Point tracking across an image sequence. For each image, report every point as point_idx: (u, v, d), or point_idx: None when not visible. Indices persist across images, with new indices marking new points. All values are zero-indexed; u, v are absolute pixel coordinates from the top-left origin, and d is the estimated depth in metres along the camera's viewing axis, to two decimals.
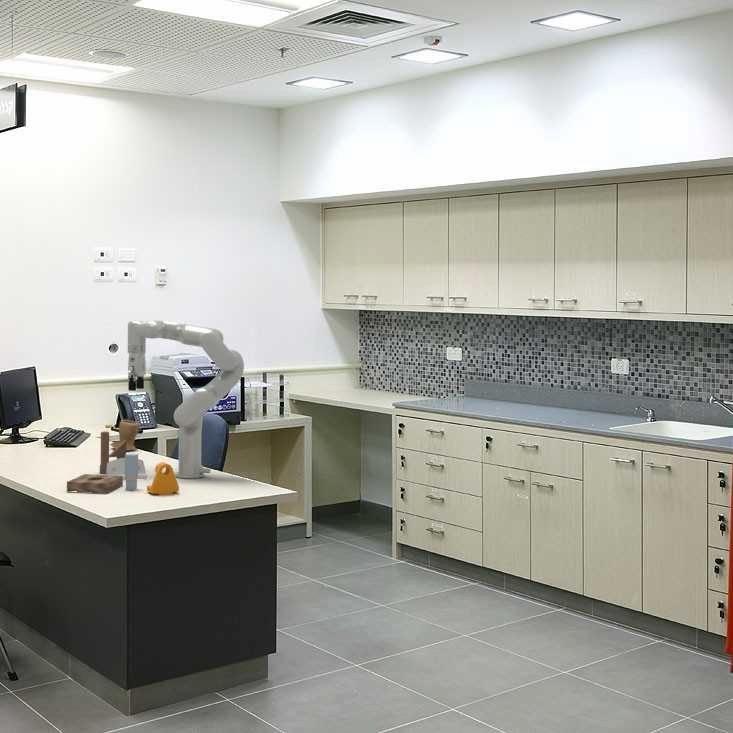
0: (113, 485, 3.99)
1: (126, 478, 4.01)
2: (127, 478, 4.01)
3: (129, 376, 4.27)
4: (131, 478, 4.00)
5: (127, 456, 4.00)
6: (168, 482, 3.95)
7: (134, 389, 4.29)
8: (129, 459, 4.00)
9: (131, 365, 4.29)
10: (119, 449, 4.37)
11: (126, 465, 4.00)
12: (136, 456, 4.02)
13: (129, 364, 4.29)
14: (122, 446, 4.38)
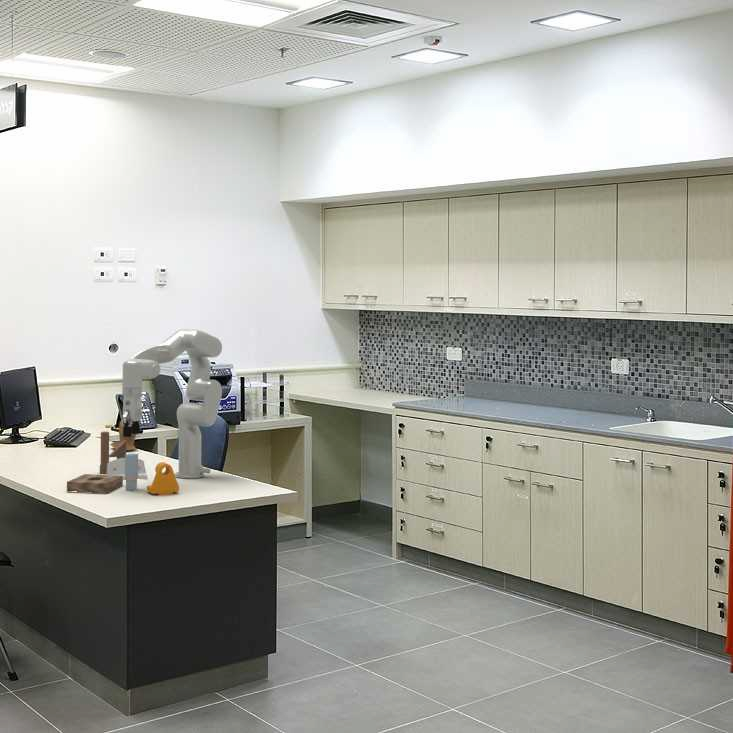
0: (113, 485, 3.99)
1: (126, 478, 4.01)
2: (127, 478, 4.01)
3: (124, 421, 3.93)
4: (131, 478, 4.00)
5: (127, 456, 4.00)
6: (168, 482, 3.95)
7: (129, 435, 3.96)
8: (129, 459, 4.00)
9: (126, 409, 3.96)
10: (119, 449, 4.37)
11: (126, 465, 4.00)
12: (136, 456, 4.02)
13: (124, 408, 3.96)
14: (122, 446, 4.38)
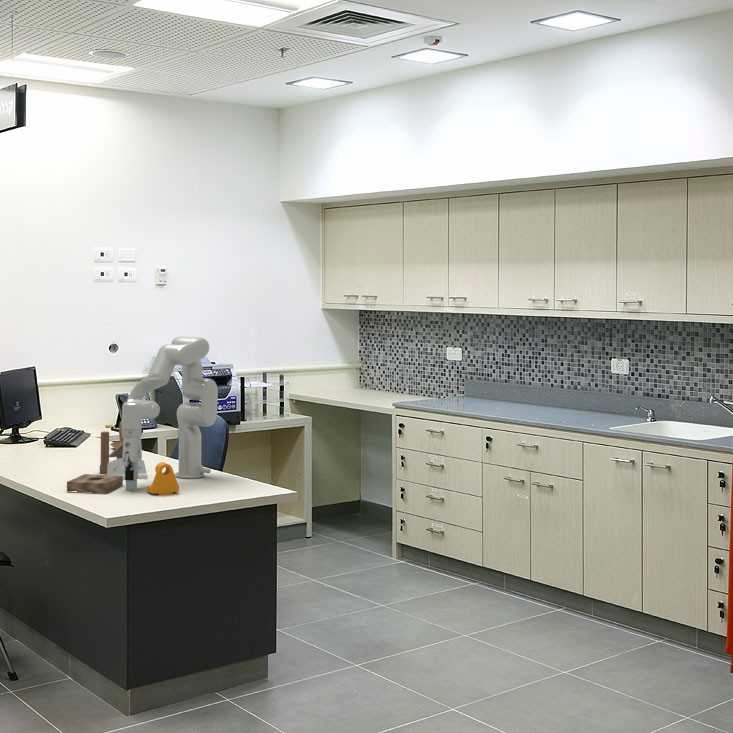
0: (113, 485, 3.99)
1: None
2: None
3: None
4: None
5: None
6: (168, 482, 3.95)
7: (131, 479, 4.00)
8: None
9: (126, 451, 3.97)
10: (119, 449, 4.37)
11: None
12: None
13: (124, 450, 3.97)
14: (122, 446, 4.38)
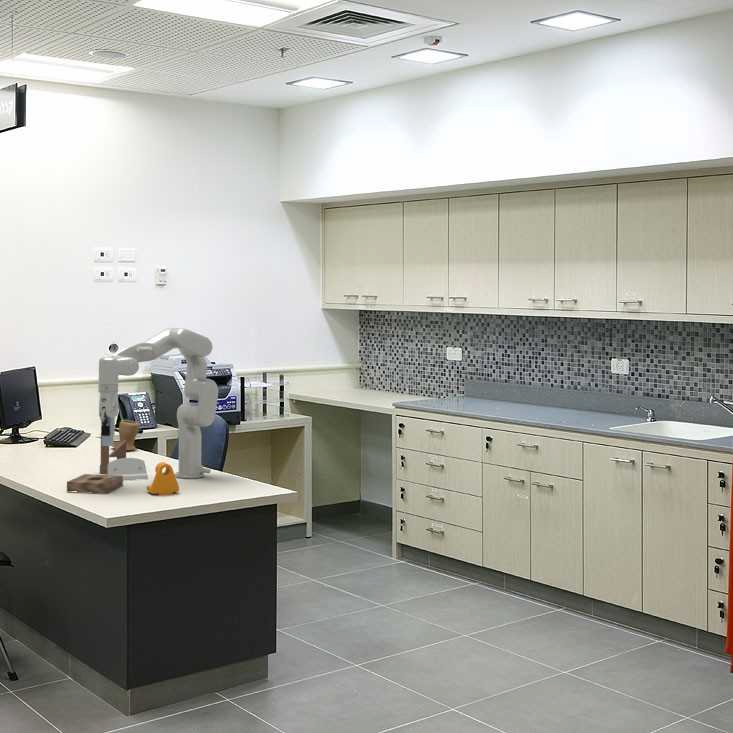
0: (113, 485, 3.99)
1: None
2: None
3: None
4: None
5: None
6: (168, 482, 3.95)
7: (107, 434, 3.98)
8: None
9: (102, 406, 3.95)
10: (119, 449, 4.37)
11: None
12: None
13: (100, 405, 3.96)
14: (122, 446, 4.38)
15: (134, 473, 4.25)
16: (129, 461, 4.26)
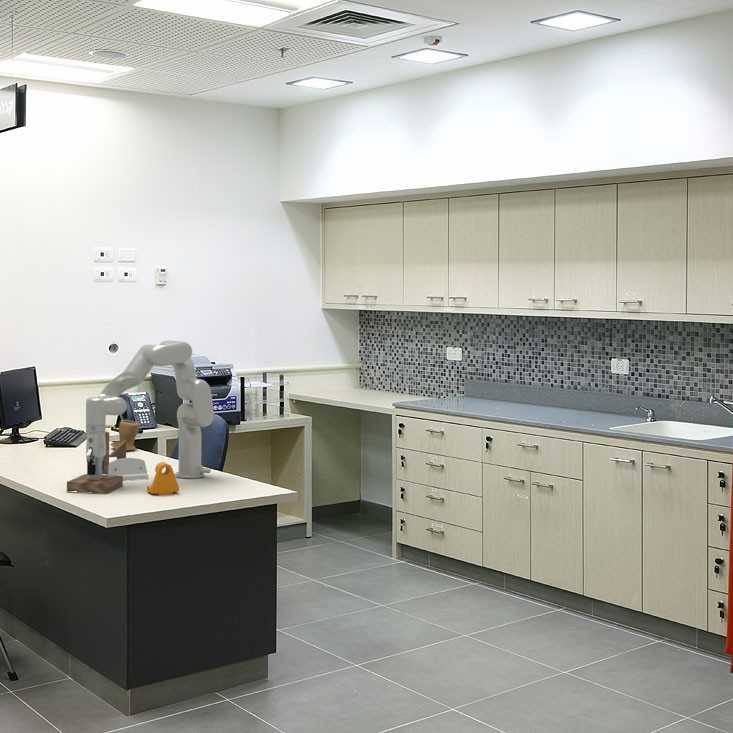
0: (113, 485, 3.99)
1: (90, 477, 4.00)
2: (91, 477, 4.00)
3: (88, 460, 3.94)
4: (95, 477, 4.00)
5: None
6: (168, 482, 3.95)
7: (93, 473, 3.97)
8: None
9: (89, 446, 3.96)
10: (119, 449, 4.37)
11: None
12: None
13: (87, 445, 3.97)
14: (122, 446, 4.38)
15: (134, 473, 4.25)
16: (130, 462, 4.25)
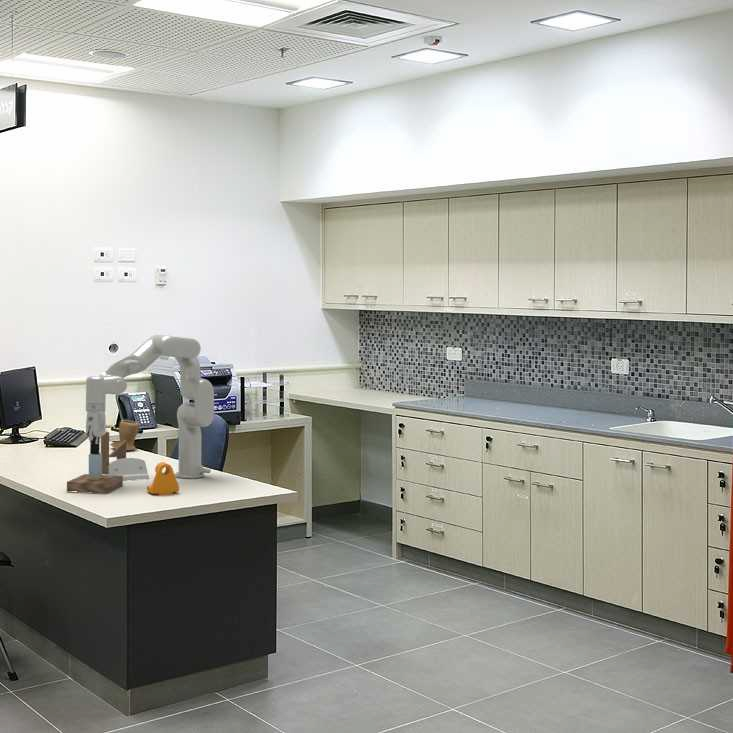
0: (113, 485, 3.99)
1: (90, 477, 4.00)
2: (91, 477, 4.00)
3: None
4: (95, 477, 4.00)
5: (91, 455, 4.00)
6: (168, 482, 3.95)
7: (96, 452, 4.00)
8: (92, 458, 4.00)
9: (89, 425, 3.96)
10: (119, 449, 4.37)
11: (90, 464, 4.00)
12: (100, 455, 4.01)
13: (87, 424, 3.96)
14: (122, 446, 4.38)
15: (135, 473, 4.25)
16: (130, 462, 4.25)
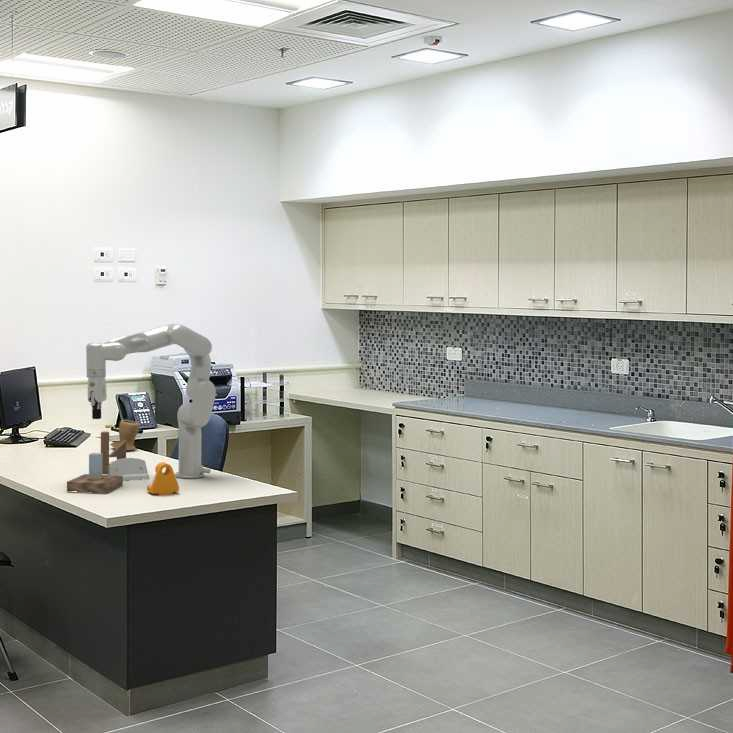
0: (113, 485, 3.99)
1: (90, 477, 4.00)
2: (91, 477, 4.00)
3: None
4: (95, 477, 4.00)
5: (91, 455, 4.00)
6: (168, 482, 3.95)
7: (98, 417, 4.10)
8: (93, 458, 4.00)
9: (91, 390, 4.06)
10: (119, 449, 4.37)
11: (90, 464, 4.00)
12: (100, 455, 4.01)
13: (89, 389, 4.06)
14: (122, 446, 4.38)
15: (135, 473, 4.25)
16: (130, 462, 4.25)
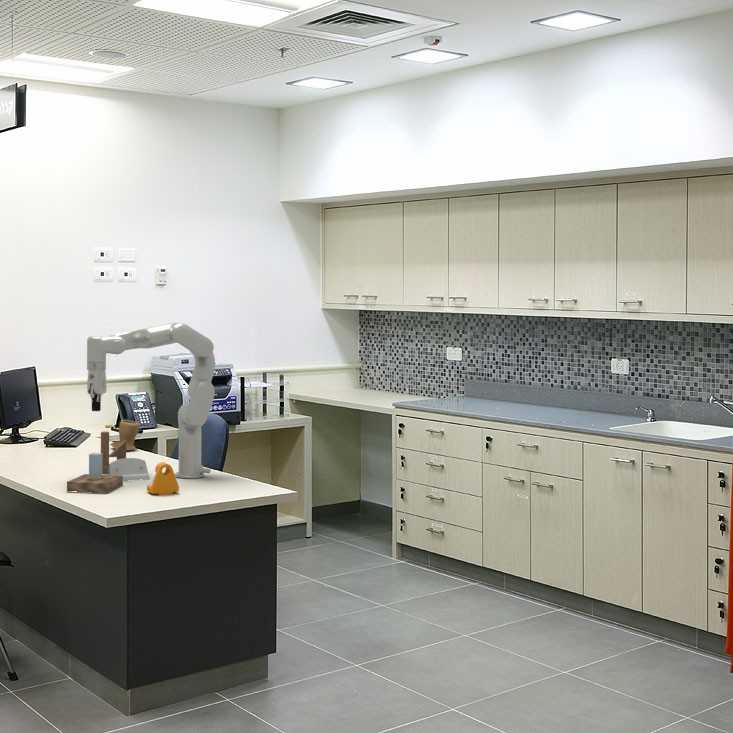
0: (113, 485, 3.99)
1: (90, 477, 4.00)
2: (91, 477, 4.00)
3: None
4: (95, 477, 4.00)
5: (91, 455, 4.00)
6: (168, 482, 3.95)
7: (97, 409, 4.16)
8: (93, 458, 4.00)
9: (90, 383, 4.11)
10: (119, 449, 4.37)
11: (90, 464, 4.00)
12: (100, 455, 4.01)
13: (88, 381, 4.11)
14: (122, 446, 4.38)
15: (136, 473, 4.25)
16: (131, 462, 4.25)
